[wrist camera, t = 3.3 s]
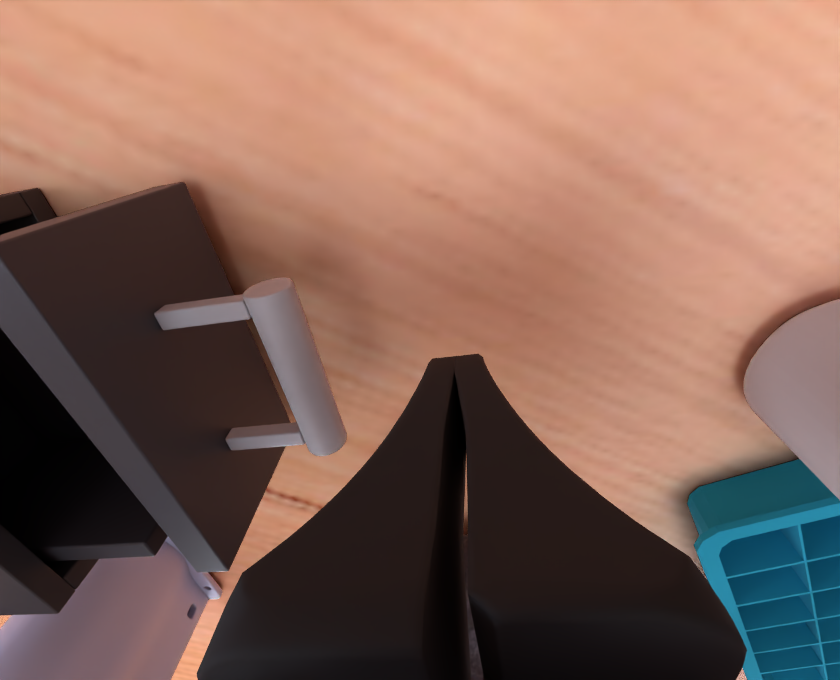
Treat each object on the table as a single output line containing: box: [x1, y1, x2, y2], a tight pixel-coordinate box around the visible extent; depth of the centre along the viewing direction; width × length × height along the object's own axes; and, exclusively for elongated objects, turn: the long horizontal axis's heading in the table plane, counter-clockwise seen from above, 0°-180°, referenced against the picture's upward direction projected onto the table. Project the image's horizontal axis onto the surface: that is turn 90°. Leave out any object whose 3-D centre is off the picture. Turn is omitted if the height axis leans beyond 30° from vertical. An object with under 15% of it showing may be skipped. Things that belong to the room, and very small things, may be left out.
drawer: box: [0, 182, 347, 572], centre depth 14 cm, size 17×11×7 cm
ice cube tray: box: [687, 459, 840, 680], centre depth 22 cm, size 12×20×3 cm, turn 30°
